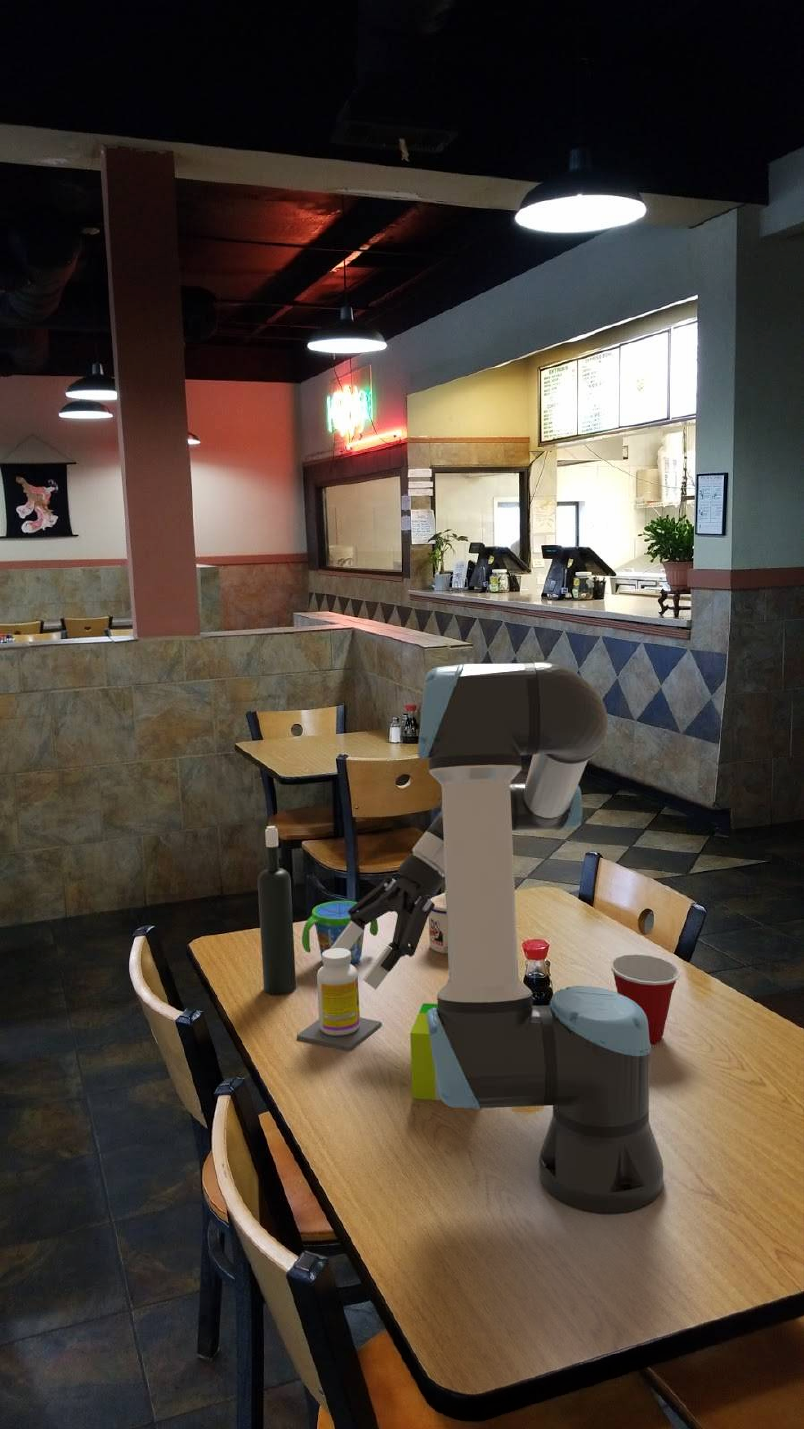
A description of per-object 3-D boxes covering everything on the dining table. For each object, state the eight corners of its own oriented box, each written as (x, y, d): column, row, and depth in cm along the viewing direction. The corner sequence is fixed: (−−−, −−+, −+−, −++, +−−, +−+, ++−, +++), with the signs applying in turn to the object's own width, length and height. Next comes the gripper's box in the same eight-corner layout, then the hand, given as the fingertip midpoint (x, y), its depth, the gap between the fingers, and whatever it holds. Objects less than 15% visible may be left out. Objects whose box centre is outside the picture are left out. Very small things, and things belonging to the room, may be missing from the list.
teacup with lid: (422, 941, 214) (420, 884, 212) (465, 935, 216) (464, 879, 215) (441, 963, 203) (440, 903, 201) (487, 956, 205) (485, 897, 203)
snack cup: (366, 943, 214) (364, 894, 212) (390, 960, 205) (388, 909, 203) (293, 959, 207) (290, 908, 205) (314, 978, 198) (311, 925, 196)
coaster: (349, 1051, 169) (349, 1047, 169) (296, 1038, 174) (296, 1035, 174) (381, 1025, 178) (381, 1021, 177) (330, 1014, 182) (330, 1010, 182)
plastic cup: (677, 1057, 163) (677, 982, 161) (605, 1048, 167) (605, 975, 165) (682, 1026, 173) (683, 955, 172) (615, 1018, 177) (615, 949, 175)
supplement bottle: (365, 1032, 174) (362, 956, 172) (326, 1040, 171) (323, 963, 169) (352, 1016, 180) (349, 942, 178) (314, 1024, 177) (310, 949, 175)
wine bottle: (302, 986, 194) (294, 824, 189) (282, 998, 190) (273, 832, 185) (278, 980, 197) (269, 821, 193) (257, 991, 193) (247, 828, 188)
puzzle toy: (482, 1103, 152) (480, 1037, 151) (412, 1098, 154) (410, 1033, 153) (490, 1069, 162) (489, 1006, 160) (425, 1065, 164) (423, 1003, 162)
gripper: (481, 898, 170) (401, 1009, 166) (407, 860, 192) (335, 957, 188) (451, 871, 167) (369, 984, 163) (380, 836, 189) (305, 934, 185)
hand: (350, 970), depth 175 cm, fingers open, 13 cm apart
